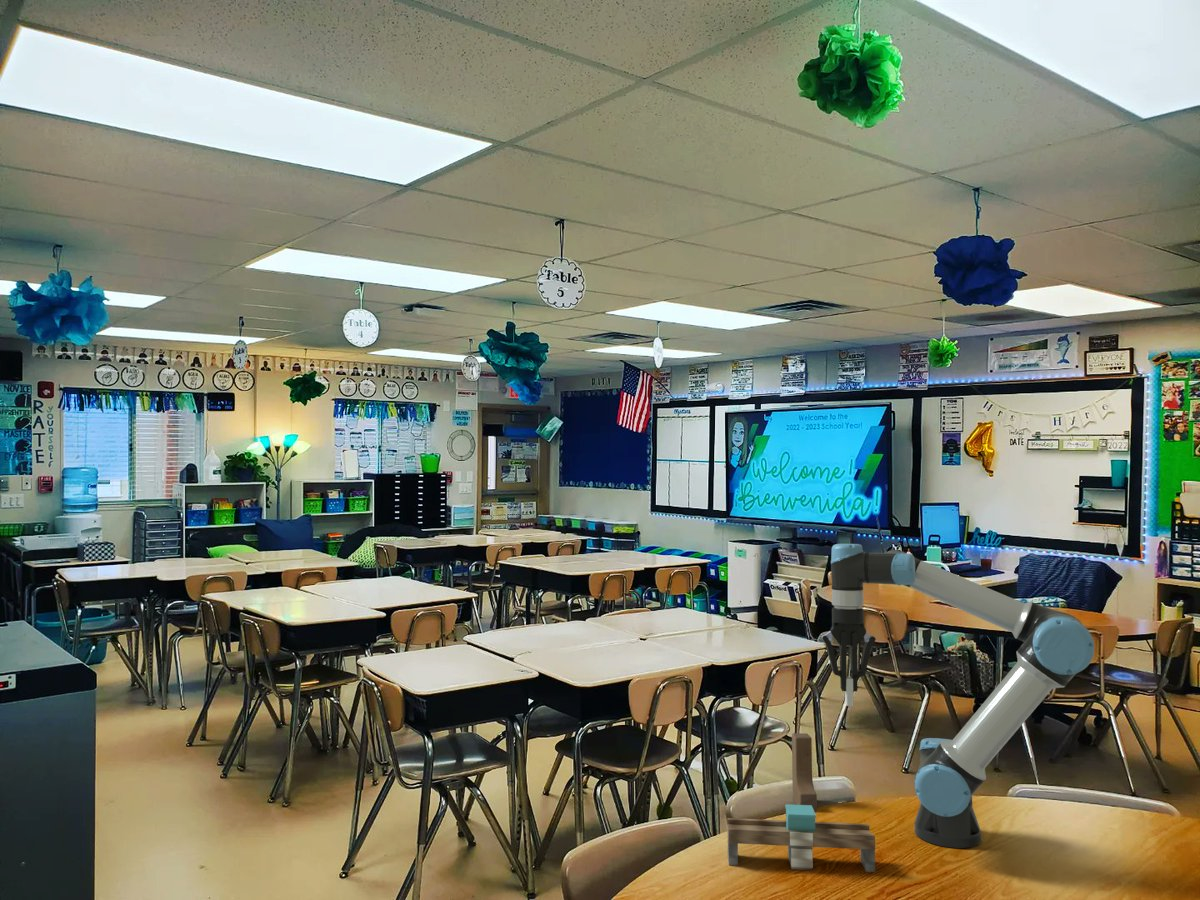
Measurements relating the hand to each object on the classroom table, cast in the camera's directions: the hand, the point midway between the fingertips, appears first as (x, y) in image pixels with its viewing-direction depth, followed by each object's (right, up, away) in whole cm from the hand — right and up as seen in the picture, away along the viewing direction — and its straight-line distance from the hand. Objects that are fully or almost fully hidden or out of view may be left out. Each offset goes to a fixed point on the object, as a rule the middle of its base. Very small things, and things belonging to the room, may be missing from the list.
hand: (849, 704), depth 206 cm
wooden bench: (-15, -31, -15) cm, 38 cm away
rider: (-15, -24, -14) cm, 32 cm away
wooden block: (-5, -34, +22) cm, 41 cm away
